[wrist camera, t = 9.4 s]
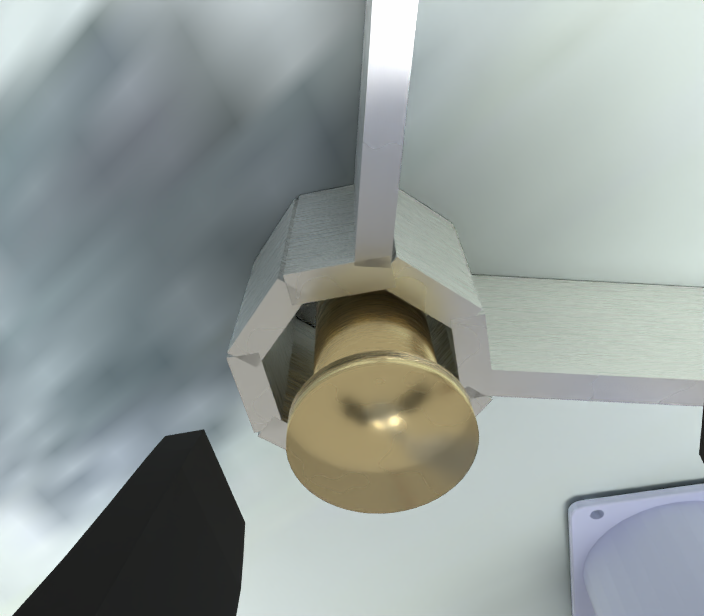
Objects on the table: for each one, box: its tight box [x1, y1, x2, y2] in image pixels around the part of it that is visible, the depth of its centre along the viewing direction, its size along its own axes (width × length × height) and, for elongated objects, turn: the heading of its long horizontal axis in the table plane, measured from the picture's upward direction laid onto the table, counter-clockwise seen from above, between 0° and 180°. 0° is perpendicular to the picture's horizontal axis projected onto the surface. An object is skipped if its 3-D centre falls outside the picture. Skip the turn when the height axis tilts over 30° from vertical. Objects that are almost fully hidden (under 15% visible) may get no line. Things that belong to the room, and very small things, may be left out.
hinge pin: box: [286, 289, 479, 513], centre depth 16 cm, size 4×4×8 cm
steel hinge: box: [227, 0, 704, 449], centre depth 15 cm, size 16×16×5 cm
